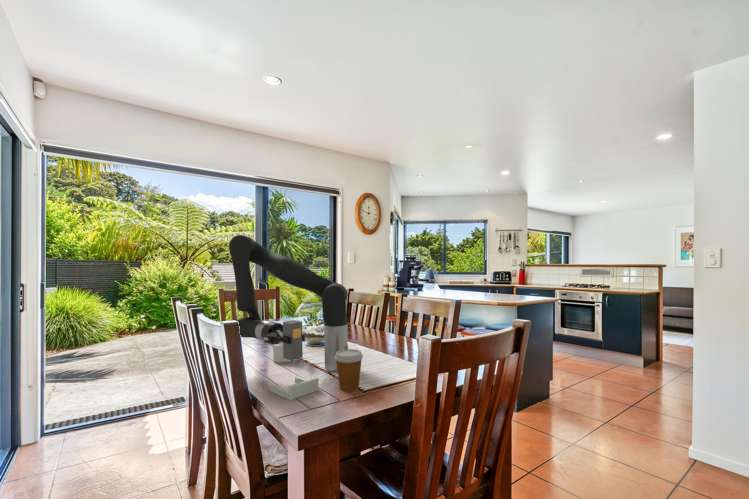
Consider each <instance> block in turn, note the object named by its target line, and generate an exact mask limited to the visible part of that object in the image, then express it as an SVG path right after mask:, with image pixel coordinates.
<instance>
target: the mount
mask: <svg viewBox="0 0 749 499" xmlns="http://www.w3.org/2000/svg"><path fill="white" fill-rule="evenodd" d="M287 388H288V389H286V388H283V387H281V386H278V385H276V384H274V383H271V384H269V391H270V392H271V393H273V392H274V394H276V395H278V396H280V397H283V398H284V399H287V400H288V401H289V400H290V401H293V400H295V399H297V398H298V399H299V398H301V397H303V396H307V395H308V394H312V393H314V392H317V391H320V390H319V389H320V388H319V377H313V378H309V379H306V378H304V377H301V376H299V375H297V376H295V377H294V384H291V385H288V387H287Z"/></svg>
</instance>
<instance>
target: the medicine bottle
mask: <svg viewBox="0 0 749 499" xmlns="http://www.w3.org/2000/svg"><path fill="white" fill-rule="evenodd" d="M292 361H293V360H288V359H285V358H283V343H279V344H276V345H273V362H274V363H291V362H292Z"/></svg>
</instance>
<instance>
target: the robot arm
mask: <svg viewBox="0 0 749 499" xmlns="http://www.w3.org/2000/svg"><path fill="white" fill-rule="evenodd" d="M228 249H229V253H230V257H231V262H232V268H233V273H234V281H235V292H236V293H235V294H236V309H237V310H238V312H245V313H247V315H248V317H247V316H246V317H239V318H237V319H236V320H235V321H238V322H239V326H240V335H241V337H240V338H250V339H251V338H253V339H257V340H259V341H262V342H263V343H265V344H266V343H267V344H270V345H273V346H274V345H276V344H279V343H287V344H292V338H291V337H288V336H284V335H283V323H280V322H276V321H271V320H262V319H261V317H260V314H259V311H258V308H257V304H256V290H255V284H254V280H253V278H252V273H251V267H250V263H252V264H255V265H258V266H259V267H261V268H263V269H264V270H266V272H269V274H270V275H271V276H274V277H275V278H277V279H279V280H280V281H282V282H284V283H286V284H288V285H290V286H292V287H295V288H298V289H302V290H305V291H309V292H311V293H313V294H315V295H316V296H319V297H320V298H321V305H322V307H321V309H322V310H321V311H322V319H323V338H324V339H323V342H324V343H323V344H324V345H323V346H324V348H323V349H324V350H323V351H324V369H325V370H326V371H330V372H338V371H337V363H336V360H335V355H336V352H338V351H340V350H346V349H349V345H348V344H349V343H348V316H347V300H348V297H349V296H348V290H347V288H346V287H345V286H344V285H342V284H341V283H338V282H336V281H332V280H330V279H328V278H325V277H323V276H321V275H319V274H318V273H316V272H314V271H313V270H311V269H310V268H308V267H306V266H304V265H303V264H301V263H299V262H297V261H296V260H293V259H292V258H290V257H287V256H284V255H282V254H280V253H276V252H274V251H271V250H269V249H267V248H266V247H264V246H263V245H261V244H259V243H258V242H256V241H255V239H253V238H251V237H249V236H247V235H245V234H236V235H234V236H233V237H232V238H231V239H230V240H229V244H228ZM305 341H306V335H305V334H303V331H302V342H305Z"/></svg>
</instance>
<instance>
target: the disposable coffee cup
mask: <svg viewBox="0 0 749 499" xmlns="http://www.w3.org/2000/svg"><path fill="white" fill-rule="evenodd" d="M363 358H364V355H363V353H362V351H361V350H359V349H349V348H348V349H346V350H340V351H338V352H336V355H335V360H336V363H337V371H336V372H337V375H338V376H337V377H338V384H339V390H340V391H342V392H348V393H349V392H350V393H351V392H355V391H357V390H359V388H360V387H359V386H360V378H361V377H360V376H361V370H362V369H361V367H362V360H363Z"/></svg>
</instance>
